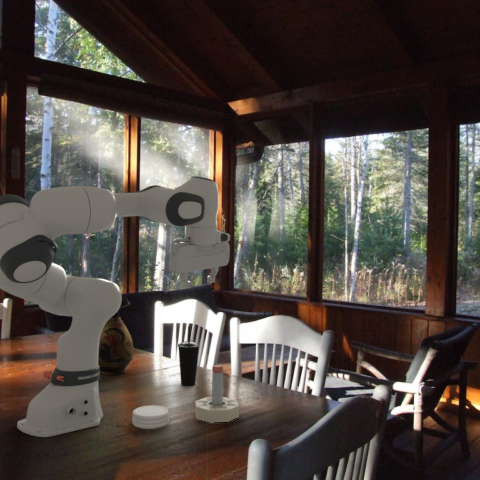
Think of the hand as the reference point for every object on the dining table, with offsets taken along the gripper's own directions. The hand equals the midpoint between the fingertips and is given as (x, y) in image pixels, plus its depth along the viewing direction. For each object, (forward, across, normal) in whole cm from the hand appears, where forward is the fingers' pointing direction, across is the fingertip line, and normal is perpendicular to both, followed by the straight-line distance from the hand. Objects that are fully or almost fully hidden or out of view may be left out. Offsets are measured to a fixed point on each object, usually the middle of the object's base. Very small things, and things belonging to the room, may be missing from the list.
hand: (198, 284), depth 148 cm
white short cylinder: (+37, -15, +1) cm, 40 cm away
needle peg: (+37, +2, -7) cm, 38 cm away
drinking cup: (+43, +18, +22) cm, 51 cm away
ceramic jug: (+46, +8, +54) cm, 71 cm away
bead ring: (+37, +2, -7) cm, 38 cm away
